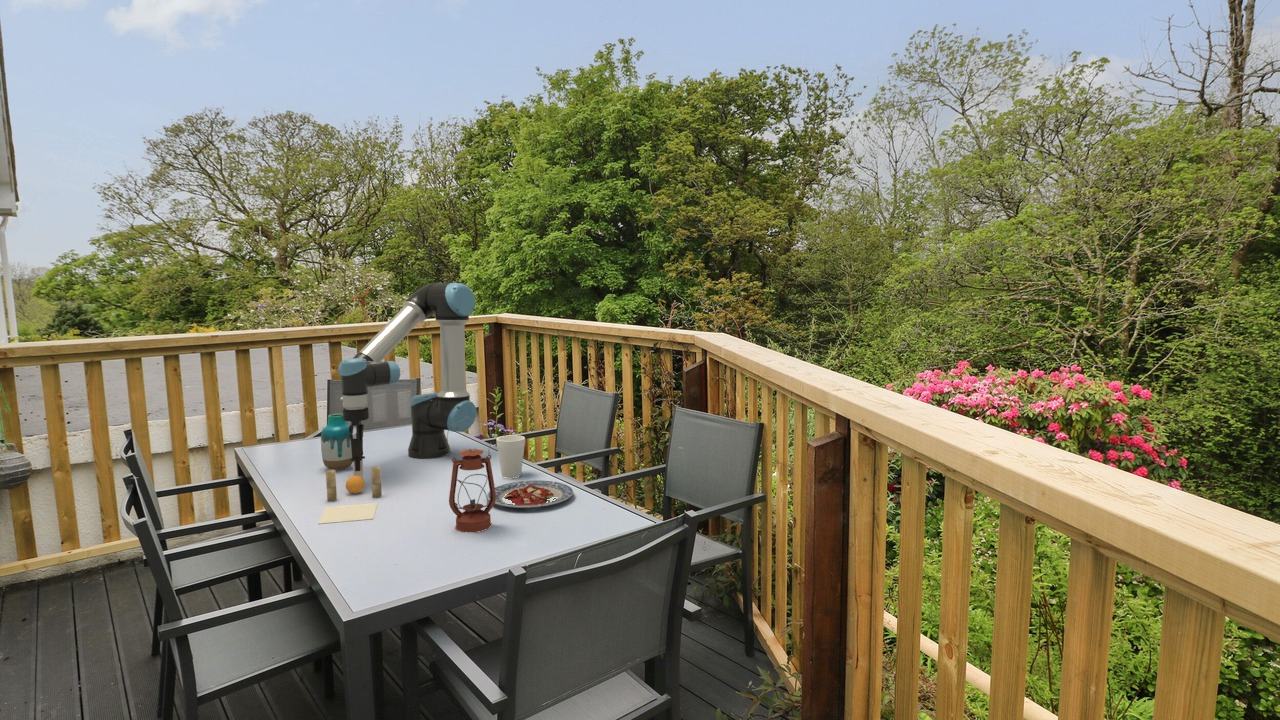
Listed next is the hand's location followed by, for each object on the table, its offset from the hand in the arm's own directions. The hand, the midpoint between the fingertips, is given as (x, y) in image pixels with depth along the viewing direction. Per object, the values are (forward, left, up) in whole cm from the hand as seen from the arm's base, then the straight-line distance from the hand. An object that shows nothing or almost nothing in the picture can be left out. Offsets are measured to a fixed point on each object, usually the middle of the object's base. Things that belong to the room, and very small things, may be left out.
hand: (358, 479), depth 218 cm
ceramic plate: (-51, +28, -3) cm, 58 cm away
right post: (-6, +13, -2) cm, 15 cm away
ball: (0, +8, +1) cm, 8 cm away
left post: (+6, +13, -2) cm, 15 cm away
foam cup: (-48, +2, -2) cm, 48 cm away
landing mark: (0, +27, -2) cm, 27 cm away
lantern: (-33, +47, -2) cm, 58 cm away
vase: (+9, -24, -2) cm, 25 cm away
